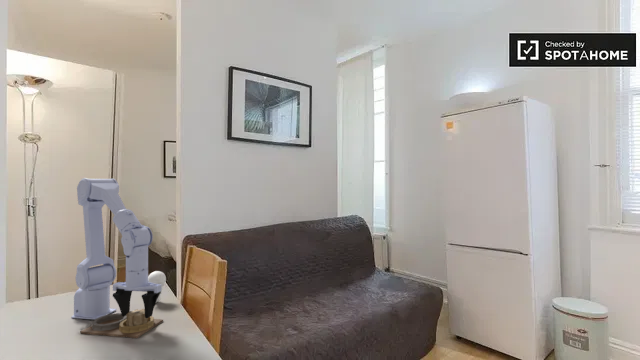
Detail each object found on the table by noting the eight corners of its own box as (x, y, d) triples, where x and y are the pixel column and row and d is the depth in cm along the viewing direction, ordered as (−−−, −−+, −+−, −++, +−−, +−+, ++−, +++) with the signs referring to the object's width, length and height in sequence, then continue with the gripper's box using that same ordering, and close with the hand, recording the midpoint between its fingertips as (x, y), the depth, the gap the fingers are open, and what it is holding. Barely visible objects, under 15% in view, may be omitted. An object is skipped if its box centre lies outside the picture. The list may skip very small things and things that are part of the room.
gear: (122, 329, 93) (122, 315, 93) (135, 321, 98) (135, 308, 98) (138, 330, 92) (138, 316, 92) (151, 322, 97) (151, 309, 98)
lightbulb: (158, 306, 113) (158, 274, 113) (142, 304, 114) (142, 273, 114) (169, 299, 119) (169, 269, 119) (154, 298, 120) (154, 268, 120)
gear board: (80, 333, 92) (80, 326, 92) (111, 317, 103) (111, 311, 103) (137, 338, 89) (137, 330, 89) (163, 321, 100) (163, 314, 100)
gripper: (168, 266, 98) (168, 312, 98) (125, 264, 101) (125, 309, 100) (152, 272, 91) (152, 321, 91) (106, 270, 94) (106, 318, 93)
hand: (137, 315), depth 95 cm, fingers open, 7 cm apart
